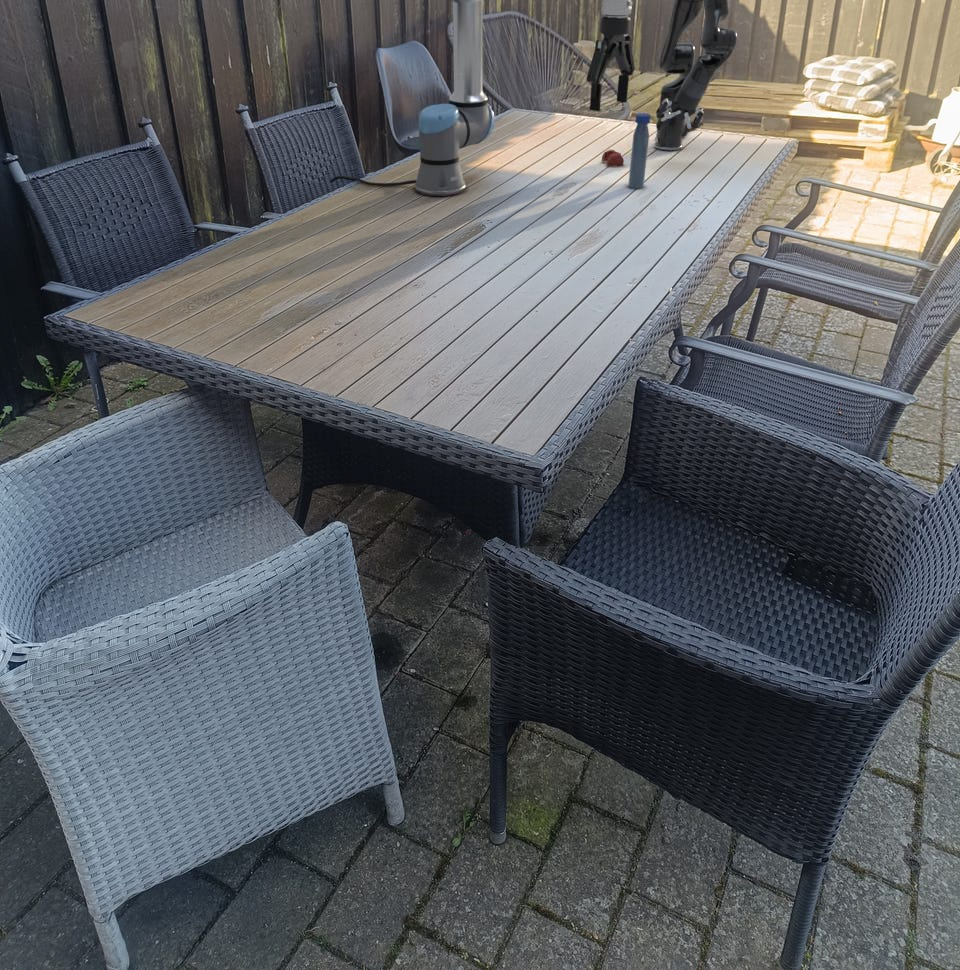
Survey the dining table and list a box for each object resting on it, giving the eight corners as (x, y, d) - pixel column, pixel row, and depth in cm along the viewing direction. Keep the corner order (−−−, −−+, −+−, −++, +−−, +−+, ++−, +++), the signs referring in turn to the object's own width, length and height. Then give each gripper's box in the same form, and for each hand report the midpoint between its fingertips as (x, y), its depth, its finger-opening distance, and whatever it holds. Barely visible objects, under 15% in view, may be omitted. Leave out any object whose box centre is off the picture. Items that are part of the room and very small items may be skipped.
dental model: (616, 146, 283) (625, 152, 277) (615, 159, 286) (624, 165, 280) (600, 148, 282) (609, 154, 276) (600, 161, 285) (608, 167, 279)
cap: (632, 121, 251) (633, 114, 249) (642, 119, 253) (643, 112, 251) (642, 124, 248) (643, 117, 247) (652, 122, 250) (653, 115, 249)
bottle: (624, 186, 262) (631, 115, 250) (636, 183, 264) (643, 113, 252) (635, 189, 258) (642, 118, 247) (646, 187, 261) (654, 116, 249)
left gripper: (602, 22, 204) (595, 116, 216) (653, 12, 219) (644, 100, 232) (576, 19, 207) (570, 112, 220) (628, 10, 223) (620, 96, 236)
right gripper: (712, 88, 267) (688, 130, 281) (671, 76, 265) (649, 119, 278) (714, 103, 264) (690, 145, 277) (672, 91, 261) (650, 134, 274)
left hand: (608, 106), depth 226 cm, fingers open, 13 cm apart
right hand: (669, 132), depth 278 cm, fingers open, 8 cm apart
